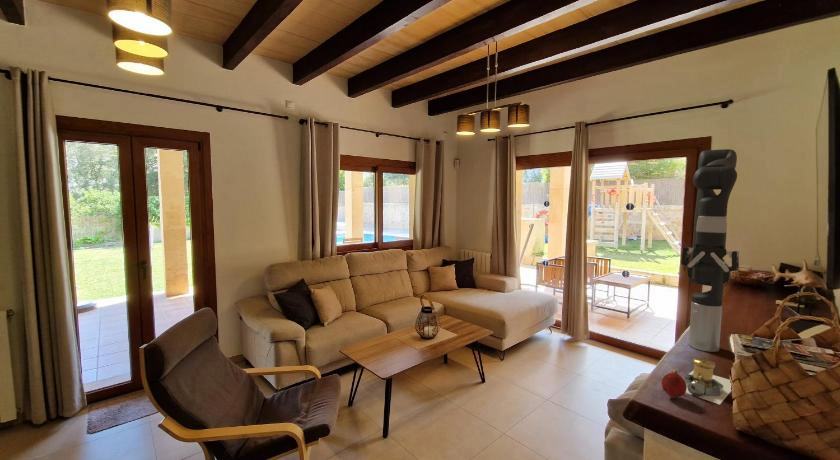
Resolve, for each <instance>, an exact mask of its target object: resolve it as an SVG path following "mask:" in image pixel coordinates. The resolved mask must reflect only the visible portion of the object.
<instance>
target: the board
mask: <svg viewBox="0 0 840 460" xmlns="http://www.w3.org/2000/svg"><path fill="white" fill-rule="evenodd" d="M693 372H694V369H693V370H692V371H690V372H689V373H688V374H690V375H693ZM682 378H683V379H684V377H682ZM712 379H715V380H716V381H718V382H719V383H721V384H722V385H723V393H722V394H721V395H720V396H706V395H702V396H699V397H697V396H694V395H692V394H691V393H690V392H689V391H688V388H687V390H686V392H685V393H684V394H683V396H685V397H686V395H685V394H688V395H691V396H694V397H697V398H700V399H702V400H706V401H708V402H711V403H714V404H717V405H721V404H722V403H723V402H724V400H725V399H726V398H727V396H728V395H729V394H730V393H731V392H732V391H733V389H732V390H731V383H730V380H731V379H729V378H725V377H722V376H718V375H714V374H713V377H712ZM691 399H693V400H696V401H699V402H701V403H703V401H700V400H698V399H695V398H693V397H691ZM708 405H710V406H713V407H716V408H717V406H716V405H712V404H710V403H708Z"/></svg>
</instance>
